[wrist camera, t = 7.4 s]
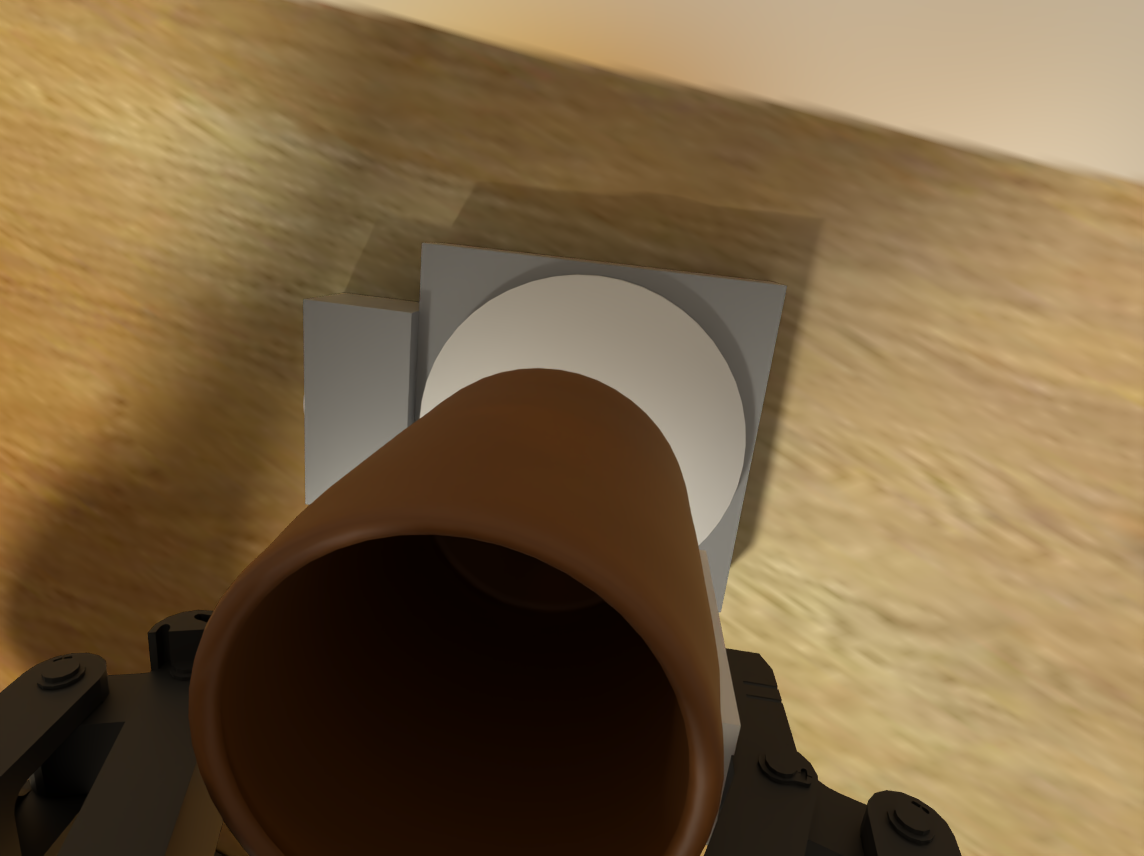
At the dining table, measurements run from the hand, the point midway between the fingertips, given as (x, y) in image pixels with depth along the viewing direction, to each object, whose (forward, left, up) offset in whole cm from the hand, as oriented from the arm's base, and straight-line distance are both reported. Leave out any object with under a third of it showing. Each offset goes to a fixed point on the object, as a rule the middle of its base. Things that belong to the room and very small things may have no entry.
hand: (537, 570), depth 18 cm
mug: (0, 0, 0) cm, 1 cm away
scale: (-3, 0, -16) cm, 16 cm away
